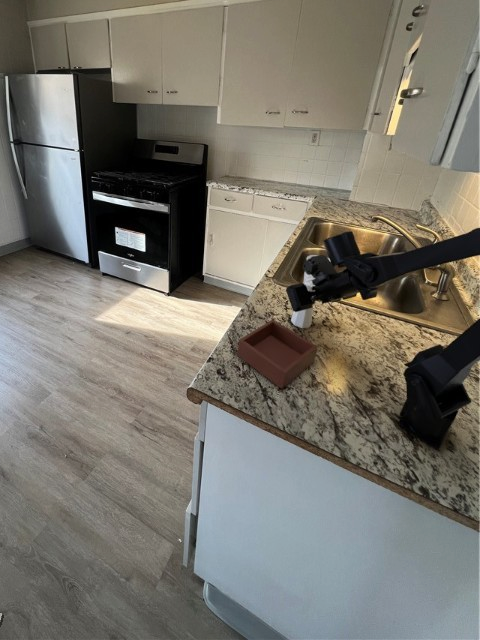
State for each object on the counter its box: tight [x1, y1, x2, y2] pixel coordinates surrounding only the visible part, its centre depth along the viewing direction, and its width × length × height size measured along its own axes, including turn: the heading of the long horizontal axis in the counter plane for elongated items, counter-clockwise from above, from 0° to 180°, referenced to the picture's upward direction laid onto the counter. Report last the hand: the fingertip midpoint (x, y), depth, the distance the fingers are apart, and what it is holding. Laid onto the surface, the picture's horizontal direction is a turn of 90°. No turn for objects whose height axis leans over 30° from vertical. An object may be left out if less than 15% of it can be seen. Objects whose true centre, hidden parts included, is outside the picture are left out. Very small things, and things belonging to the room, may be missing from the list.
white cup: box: [302, 254, 331, 291], centre depth 101 cm, size 8×8×10 cm
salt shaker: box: [290, 286, 314, 329], centre depth 84 cm, size 5×5×11 cm
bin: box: [236, 319, 319, 390], centre depth 72 cm, size 13×13×5 cm
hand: (301, 299), depth 84 cm, fingers open, 5 cm apart
